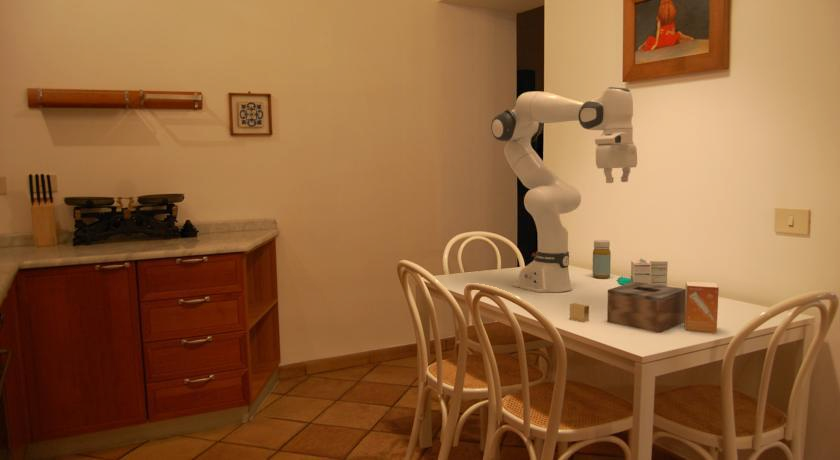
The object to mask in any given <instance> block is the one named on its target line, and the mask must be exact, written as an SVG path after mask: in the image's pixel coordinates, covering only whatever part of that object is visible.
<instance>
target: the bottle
mask: <svg viewBox="0 0 840 460" xmlns="http://www.w3.org/2000/svg"><path fill="white" fill-rule="evenodd" d="M610 241H611V240H606V239H596V240H594V241H593V250H592V277H594V278H596V279H608V278H610V276H611V257H612V256H611V250H610V249H611V247H610V245H611V243H610Z"/></svg>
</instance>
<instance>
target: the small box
mask: <svg viewBox="0 0 840 460" xmlns="http://www.w3.org/2000/svg"><path fill="white" fill-rule="evenodd" d="M684 289H685V312H684V323H683V325H684V330H685V331H691V332H702V333H712V334H717V330H718V315H719V312H718V311H719V294H720V293H719V291H720V290H719V289H720V287H719V286H718V283H717V282H706V281H705V282H704V281H685V288H684Z"/></svg>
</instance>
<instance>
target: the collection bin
mask: <svg viewBox="0 0 840 460" xmlns="http://www.w3.org/2000/svg"><path fill="white" fill-rule="evenodd" d="M606 309H607V310H606V312H607V314H606V317H607V318H606V320H607V323H610V324H611V323H612V324H615V325H621V326H626V327H630V328H635V329H639V330H645V331H648V332H655V333H659V334H660V333H663V332H665V331H668V330H671V329H672V328H675V327H677V326H680V325H681V324H684V312H685V288H680V287H675V286H668V285H667V286H662V285H655V284H648V283H641V282H632V283H628V284H625V285H622V284H621V285H619V286H615V287H612V288H609V289H607V308H606Z"/></svg>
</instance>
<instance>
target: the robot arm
mask: <svg viewBox="0 0 840 460" xmlns="http://www.w3.org/2000/svg"><path fill="white" fill-rule="evenodd" d="M633 116H634V102H633V94H632V92H631V90H630V89H629V88H625V87H614V86H613V87H612V86H610V87H607V88H605V89H604V91H603V92H602V93H601V94H600V95H598V96H597V97H595V98H593V99H591V100H589V101H586V102H582V101H578V100H574V99H571V98H569V97H565V96H562V95H559V94H556V93H553V92H547V91H540V90H539V91H538V90H537V91H534V90H533V91H526V92H523V93H522V94H520V95H519V96H518V97H517V99H516V101H515V107H514V108H513V109H512V110H510V109H506V110H504V111H503V112H501V113H499V114H497V115H496V116H495V117H494V118H493V120H491V125H490V126H491V127H490V128H491V130H490V131H491V133H492V135H493V137H494V138H495V140H498V141H500V142H506V144H505V146H504V149H503V153H504V156H505V159H506V160H507V162H508V165H509V166H510V168H511V169H512V171H513V172H514V175H516V177H517V178H518V179H519V181H520V182H521V183H522V185H523V186H524V187H525V188H527V189H529V190H528V191H527V192H526V193H525V195H524V197H523V204H524V208H525V210H526V211H527V213H529V215H531V217H532V218H533V220H534V224H535V227H536V232H537V250H536V251H534V252H532V253H531V254H532V255H531V257H533V260H532V261H531V262H530V263H528V264H527V265H526V266H524V267H523V268H522V269H521V270H520V273H519V277H518V280H517V281H515V282H513V284H512V286H513V287H516V286H517V287H516V288H519V287H520V289H523V290H528V291H530V292H535V293H562V292H568V291H571V290H573V287H572V283H571V278H570V272H569V265H570V252H569V247H568V246H569V232H568V229H567V228H566V227H565V226H564V225H563V224H562V222H561V218H560V215H563V214H568V213H571V212H573V211H575V210H577V209H578V208H579V207H580V205H581V202H582V195H581V192H580V191H579V190H578V188H576V187H575V186H573V185H571V184H569V183H568V182H566V181H564V179H562V178H561V177H560V176H558V175H557V174H555V173H554V171H552V170H551V169H550V168H549V167H548V166H547V165H546V164H545V162H544V161H543V159H542V158H541V157H540V156H539V154H538V153H537V152H536V150H535V149H533V146H532V143H533V142H535V141H537V139H538V136H539V135H540V134H541V133H542V131H543V129H544V124H553V123H564V122H574V121H577V122H579V124H580V126H581V127H582V128H583V129H584V130H589V131H602V133H601V134H600V135H598V136H596V137H595V139H594V143H595V145H596V147H595V165H596V168H597V169H603V173H604V176H605V183H607V184H612V183H614V177H613V173H612V172H613V169H622V176H620V182H621V183H628V182H629V176H630V173H631V169H632V168H636V167H637V165H638V152H637V147H636V145H635V143H634V141H633V135H634V133H633V131H634V129H633V128H634V127H633V124H632V123H633V122H632V119H633Z"/></svg>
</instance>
